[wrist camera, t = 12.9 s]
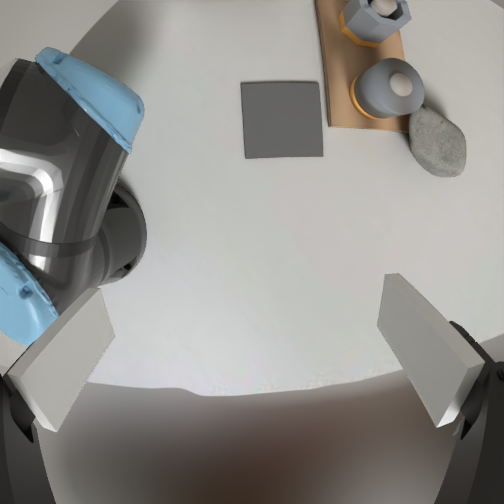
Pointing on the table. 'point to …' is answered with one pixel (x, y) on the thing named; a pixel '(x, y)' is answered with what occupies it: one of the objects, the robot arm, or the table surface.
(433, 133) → the stone
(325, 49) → the pin board
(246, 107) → the pad
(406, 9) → the sleeve
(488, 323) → the table surface
